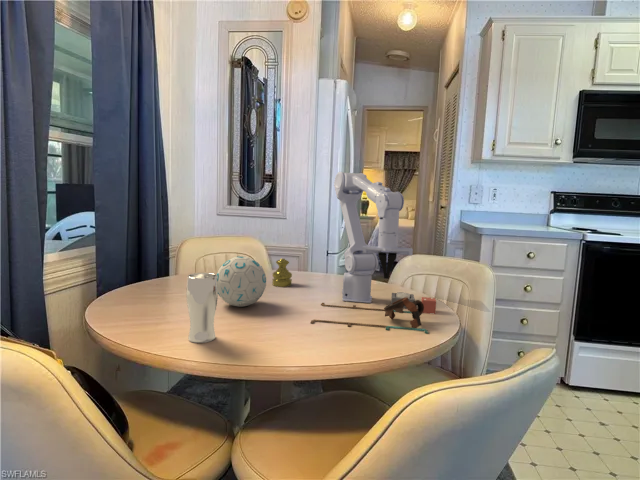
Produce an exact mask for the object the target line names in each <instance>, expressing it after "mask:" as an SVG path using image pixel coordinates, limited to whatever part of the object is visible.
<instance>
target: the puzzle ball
mask: <svg viewBox="0 0 640 480" xmlns="http://www.w3.org/2000/svg"><path fill="white" fill-rule="evenodd" d="M216 275H217V284H218V296H219V297H220V299H221V300H223V302H225V304H228V305H230V306H233V307H238V308H239V307H240V308H242V307H247V306H251V305H254V304H255V303H256V302H258V301H259V300H260V298H261V297H262V296H263V294H264V292H265V291H266V286H267V276H266V273H265V270H264V268H263V266H262V265H261V264H260V263H259V262H257V260H255V259H253V258H251V257H248V256H239V255H238V256H235V257H232V258H230V259H227V260H226V261H225V262H224V263H223V264H222V265H221V266H220V267H219V269H218V271H217V273H216Z"/></svg>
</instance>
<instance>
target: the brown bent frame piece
mask: <svg viewBox="0 0 640 480" xmlns="http://www.w3.org/2000/svg"><path fill="white" fill-rule="evenodd" d="M404 306H405V307H406V308H405V309H407V311H410V312H411V313H410V314H411V316H412V320H411V321H410V322H409V323H410V325H411V328H420V326H422V323H421V316H422V314H424V313H423V310H424V305H423V303H422V302H421V300H419V299H415V301H413V302H410V301H409V300H408V298H402V299H400V300H398V301H396V302H394V303H392V305H390V304H387V305H386V306H385V307H383V309H385V311H384V317H389V319H390V320H393V319H395V318H396V314H395V313H398V314H404V312H403V311H404V308H403V307H404ZM394 310H395V311H396V312H394Z"/></svg>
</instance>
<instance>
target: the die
mask: <svg viewBox="0 0 640 480" xmlns="http://www.w3.org/2000/svg"><path fill="white" fill-rule="evenodd" d="M420 299H421V300H420V301H421V302H422V303H423V305H424V310H423V313H422V314H430V313H434V314H433V315H436V310H437V300H436V298H435V297H428V296H426V297H425V296H422V297H421V298H420Z"/></svg>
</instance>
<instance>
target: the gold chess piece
mask: <svg viewBox="0 0 640 480" xmlns="http://www.w3.org/2000/svg"><path fill="white" fill-rule="evenodd" d="M275 264H276V265H278V268H276V270H275V271H273V272H272V274H271V275H272V277H273V278H272V280H271V281H272V286H274V287H277V286H278V287H277V288H279V287H280V288H287V286H288V287H291V286H292V283H293V281H292V280H293V279H292V276H293V273H292V272H291V271H289V269H288V268H287V266H288V265H289V264H290V261H289V260H287V259H286V258H280V259H277V260H276V261H275Z"/></svg>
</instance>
